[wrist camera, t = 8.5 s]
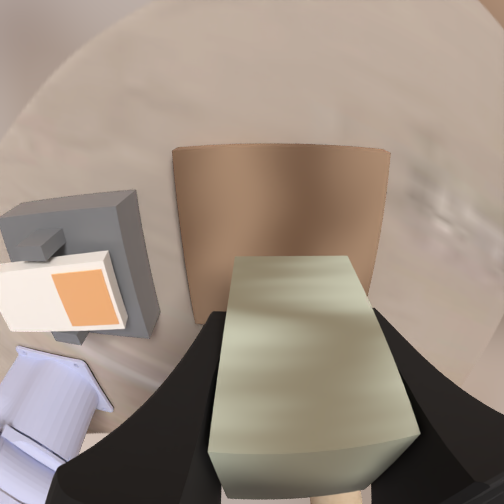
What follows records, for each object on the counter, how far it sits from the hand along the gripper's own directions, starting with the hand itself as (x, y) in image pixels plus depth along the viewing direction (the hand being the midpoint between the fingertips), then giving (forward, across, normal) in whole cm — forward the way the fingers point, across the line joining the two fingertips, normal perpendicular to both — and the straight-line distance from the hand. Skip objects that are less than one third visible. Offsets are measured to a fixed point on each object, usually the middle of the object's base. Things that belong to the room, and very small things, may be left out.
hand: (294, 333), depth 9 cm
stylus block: (+2, 0, 0) cm, 2 cm away
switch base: (+7, +12, +1) cm, 14 cm away
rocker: (+3, +12, +1) cm, 12 cm away
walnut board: (+7, 0, 0) cm, 7 cm away
